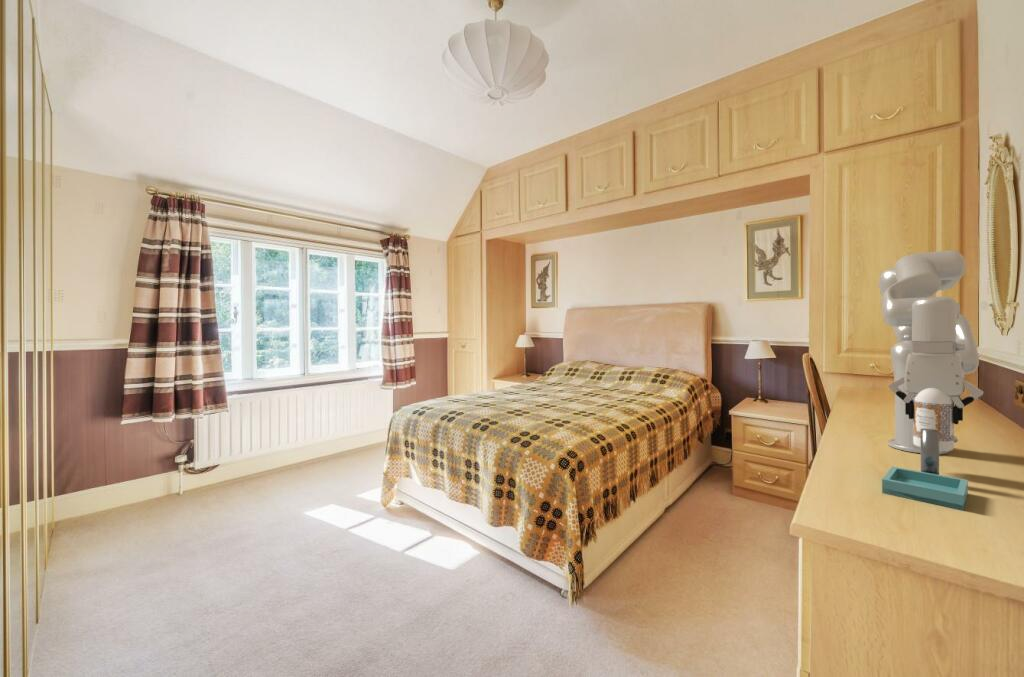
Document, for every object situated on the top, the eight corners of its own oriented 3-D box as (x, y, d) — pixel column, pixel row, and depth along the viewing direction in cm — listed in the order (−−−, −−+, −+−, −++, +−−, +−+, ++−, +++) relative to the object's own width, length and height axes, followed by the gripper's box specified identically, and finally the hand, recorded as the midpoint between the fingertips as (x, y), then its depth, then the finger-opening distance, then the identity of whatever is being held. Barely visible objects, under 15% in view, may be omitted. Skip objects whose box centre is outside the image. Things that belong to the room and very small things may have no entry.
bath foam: (906, 445, 103) (906, 366, 102) (924, 441, 105) (924, 364, 104) (942, 453, 96) (942, 369, 95) (960, 449, 98) (961, 367, 97)
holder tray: (892, 478, 97) (892, 466, 97) (967, 493, 88) (967, 480, 88) (882, 492, 89) (882, 479, 89) (963, 510, 80) (963, 495, 80)
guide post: (930, 477, 97) (930, 427, 97) (952, 485, 92) (952, 432, 92) (908, 477, 98) (908, 427, 97) (929, 485, 93) (929, 433, 92)
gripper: (988, 348, 95) (987, 423, 96) (888, 346, 109) (888, 412, 109) (987, 351, 90) (986, 430, 91) (882, 348, 104) (882, 417, 105)
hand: (933, 420), depth 100 cm, fingers closed on bath foam, 7 cm apart
